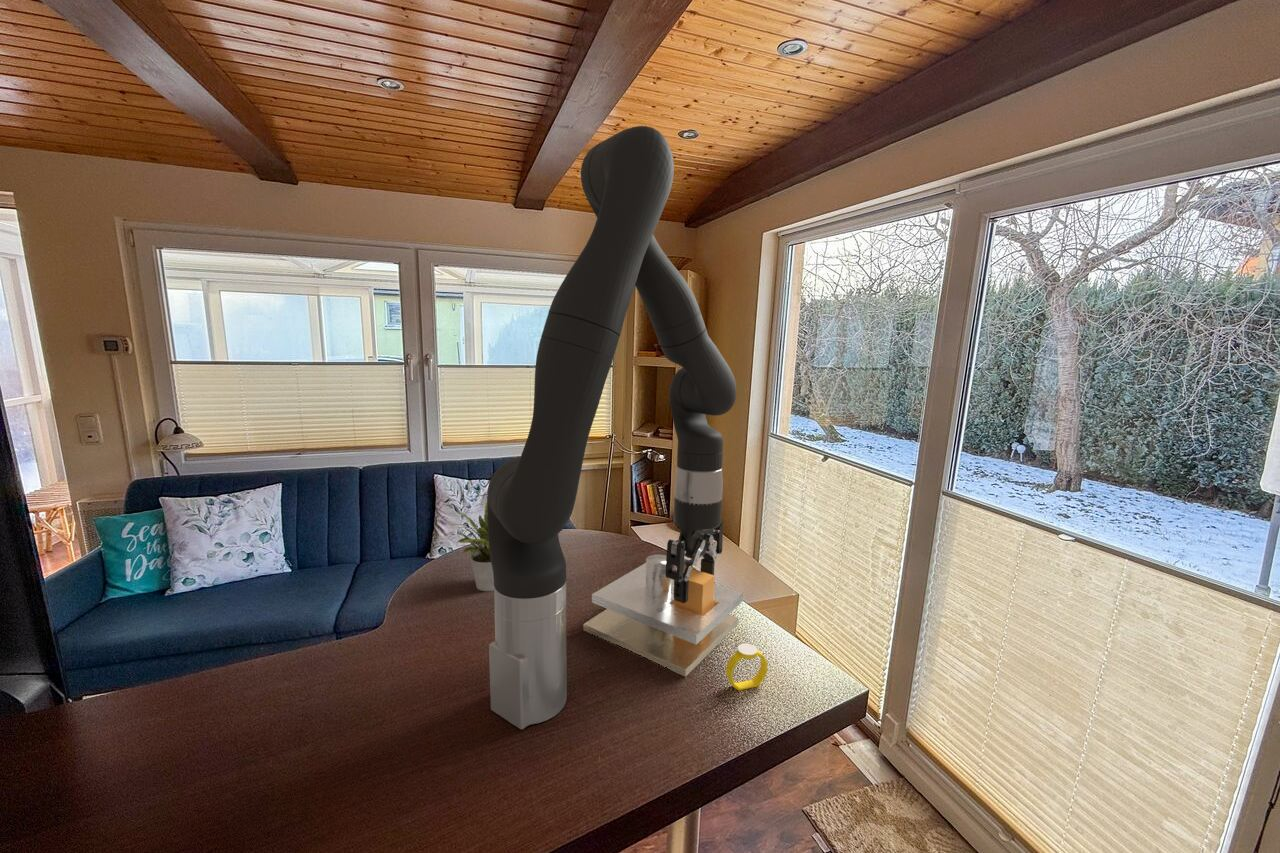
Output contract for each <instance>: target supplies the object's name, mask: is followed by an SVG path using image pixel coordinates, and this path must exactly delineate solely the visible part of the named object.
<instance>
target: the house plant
mask: <svg viewBox="0 0 1280 853" xmlns="http://www.w3.org/2000/svg"><path fill="white" fill-rule="evenodd" d="M455 513H456V514H459V515H461V516H462V517H465V519H467V521H468V522H469V523H470V524H471V526H472V527H470V526H468V525H466V524H463V523H462V524H461V523H454V524H452V526H458V527H457V529H458V528H459V529H461V528H463V529H465V530H467V531H468V532H469V533H470V534H471V536H472V537H473V538H470V537H468V536H467V535H466V534H464V533H461V532H458V534H459V535H460V536H463V538H461V539H459V540H458V541H457V542H456V544H458V543H459V544H460V545H459V547H461V546H462V547H463V546H466V548H464V550H462V554H465V553H467V552H469V551H470V552H469V556H468V558H469V559H470V563H471V568H472V572H473V577H474V582H475V587H476V589H477V590H479V591H482V592H494V577H493V569H492V564H491V560H490V553H489V535H488V516H487V501H485V502H484V514H483V516H484V518H483V517H482V515H480V514H479V516H478V524H479V527H478V526H477V525H476V524H475V521H473V519H472V518H470V517H469V516H468V515H467V514H465V513H462V512H458V511H455ZM459 526H461V527H459ZM462 526H465V527H462ZM473 528H474V529H473ZM470 529H471V530H472V531H473V532H474V533H476V535H478V537H479V538H477V536H476V535H475V534H474V533H473V532H472V531H471V530H470ZM462 543H463V544H462ZM466 543H470V545H472V546H470V545H469V546H468V544H467V545H466Z"/></svg>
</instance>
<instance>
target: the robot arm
mask: <svg viewBox="0 0 1280 853" xmlns="http://www.w3.org/2000/svg"><path fill="white" fill-rule="evenodd" d="M674 170H675V165H674V155H673V152H672V150H671V147H670V145H669V142H668V140H667V139H666V137H665V136H664V135H663V134H662V132H660V131H659V130H657V129H655V128H653V127H651V126H648V125H647V126H646V125H637V126H631V127H629V128H625V129H623V130H621V131H618V132H617V133H615V134H614V135H611V136H610V137H608V138H606V139H604V140H603V141H600V142H599V143H597V144H595V145H594V146H592V148H590V149H589V150H588V152H586V154H585V156H584V157H583V160H582V163H581V167H580V180H581V181H580V182H581V185H582V190H583V193H584V196H585V197H586V200H587V202H588V204H589V206H590V208H591V210H592V212H593V213H594V214H595V216H596V221H595V224H594V227H593V229H592V231H591V234H590V236H589V239H588V240H587V242H586V244H585V246H584V247H583V249H582V250H581V252H580V254H579V256H578V257H577V259H576V260H575V262H574V263H573V264H572V267H571V268H570V270H569V271H568V272H567V275H566V276H565V278H564V279H563V281H562V282H561V284H560V285H559V288H558V289H557V291H556V293H555V295H554V297H553V299H552V302H551V304H550V306H549V309H548V312H547V313H548V314H547V316H546V320H545V322H544V326H543V329H542V333H541V335H540V336H541V337H540V340H539V344H538V348H537V353H536V360H535V370H534V390H533V391H534V392H533V396H534V397H533V411H532V419H531V423H530V428H529V432H528V435H527V439H526V441H525V444H524V447H523V450H522V452H521V456H518V457H514V458H510V459H508V460H506V461H505V462H503V463H502V464H501V465H500V466H499V467H497V469H496V470H495V472H494V473H493V474H492V476H491V478H490V480H489V482H488V483H489V484H488V487H487V493H486V494H487V495H486V502H487V516H488V535H489V553H490V560H491V564H492V569H493V577H494V590H493V599H494V600H493V601H494V603H493V604H494V606H493V607H494V635H495V636H494V637H495V638H494V641H492V642H490V644H489V646H488V650H489V651H488V655H489V663H488V664H489V690H490V691H489V692H490V710H491V711H492V712H494V713H495V714H496V715H498V716H500V717H501V718H503V719H504V720H505V721H507V722H509V723H510V724H512V725H513V726H515V727H517V729H519V730H524V729H525V728H526V727H528V726H530V725H534V724H536V725H537V724H540V723H541V724H542V722H545V721H548V720H550V719H552V718H554V717H555V716H556V715H558V714H559V713H560V712H561V711H562V710H563V709H564V707H565V705H566V704H567V694H568V693H567V691H568V690H567V689H568V688H567V684H568V683H567V682H568V681H567V679H568V678H567V670H568V669H567V562H566V558H565V556H564V553H563V550H562V546H561V543H560V539H559V534H560V533H561V532H562V531H563V530H564V528H565V527H566V525H567V523H569V520H570V518H571V516H572V514H573V512H574V507H575V503H576V499H577V495H578V489H579V485H580V484H579V483H580V479H581V478H580V477H581V473H582V468H583V463H584V458H585V452H586V448H587V444H588V439H589V436H590V432H591V430H592V427H593V423H594V420H595V417H596V414H597V411H598V408H599V404H600V401H601V398H602V394H603V391H604V388H605V384H606V381H607V378H608V375H609V372H610V369H611V367H612V363H613V360H614V357H615V354H616V350H617V348H618V344H619V340H620V337H621V333H622V330H623V325H624V321H625V318H626V314H627V311H628V308H629V305H630V302H631V299H632V296H633V293H634V289H635V288H636V290H637V292H638V294H639V296H640V299H641V301H642V302H643V304H644V305H643V306H644V308H645V310H646V312H647V314H648V317H649V320H650V322H651V325H652V328H653V331H654V333H655V336H656V338H657V340H658V343H659V346H660V348H661V351H662V353H663V354H664V356H665V358H666V359H667V360H668V361H670V362H671V363H674V364H676V365H678V366H680V367H681V368H679V369H678V370H677V371H676V372H675V374H674V375H673V377H672V379H671V382H670V385H669V391H668V397H669V399H668V401H669V406H670V410H671V415H672V416H671V417H672V420H673V425H674V426H673V427H674V430H675V434H676V438H677V455H676V470H675V475H674V476H675V477H674V495H673V521H674V523H675V525H677V526H678V528H679V529H680V532H679V536H678V539H677V540H675V539H674V540H673V539H670V538H669V539H668V541H667V544H666V545H667V546H666V556H667V557H666V573H665V576H666V577H667V578H670V579H673V580H674V599H675V600H676V601H678V602H681V603H686V602H687V601H688V589H689V580H688V579H689V576H690V573H691V570H692V569H695V568H696V567H697V564H698V562H699V559H700V558H701V559H700V571H701V572H704V573H708V574H711V575H714V576H715V562H716V561H717V559H718V555H721V554H722V553H723V537H724V536H723V534H724V532H723V531H724V521H723V520H722V513H723V493H724V492H723V488H724V479H723V478H724V477H723V457H724V456H723V455H724V439H723V435H722V433H720V431H718V430H717V429H715V428H714V427H712V426H710V425H709V422H708V420H707V415H708V416H713V417H715V416H722V415H725V414H727V413H728V412H729V411H730V410H732V409H733V406H734V404H735V403H736V399H737V382H736V378H735V375H734V373H733V371H732V369H731V367H730V366H729V364H728V363H727V361H726V359H725V358H724V357H723V355H722V353H721V352H720V350H719V348H718V347H717V346H716V344H715V343H714V342H713V340H712V339H711V338H710V336H709V334H708V330H707V327H706V325H705V321H704V318H703V316H702V313H701V310H700V306H699V304H698V301H697V299H696V296H695V294H694V292H693V291H692V289H691V287H690V285H689V284H688V283H687V281H686V279H685V278H684V277H683V275H682V274H681V273H680V271H679V270H678V269H677V267H676V266H675V265H674V264H673V263H672V262H671V260H670V259H669V257H668V256H667V255H666V254H665V251H664V250H663V249H662V247H661V246H660V244H659V242H658V240H657V239H656V237H655V235H654V232H655V231H656V228H657V226H658V223H659V221H660V218H661V216H662V214H663V211H664V209H665V207H666V204H667V201H668V198H669V196H670V193H671V190H672V188H673V182H674V172H675V171H674ZM715 541H716V543H715ZM685 557H686V558H685ZM687 558H688V559H687ZM684 570H685V571H684ZM683 571H684V572H683Z"/></svg>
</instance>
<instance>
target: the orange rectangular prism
mask: <svg viewBox="0 0 1280 853" xmlns="http://www.w3.org/2000/svg"><path fill="white" fill-rule="evenodd" d="M684 571H685V569H684ZM684 571H683V572H684ZM715 578H716V577H715V574H714V575H711V574H708V573H704V572H701V570H697V569H695V568H693V569H692V570H691V573H690V576H689V579H688V580H689V589H688V601H687V602H686V603H681V602H678V601H676V600H675V604H674V606H677V607H679V608H682V609H685V610H688V611H690V612H693V613H696V614H698V615H701V616H704V615H705V614H707V613H708V612H709V611H710V610H711V609H712V608H713V599H714V584H715ZM711 633H712V630H711V631H710V632H709V633H708V634H707V635H706V636H705V637H704V638H703V639H702V640H701V641H700V642H699V643H700V644H701V643H702V642H703V641H704V640H705V639H706V638H707V637H708V636H709V635H710V634H711Z"/></svg>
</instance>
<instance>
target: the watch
mask: <svg viewBox="0 0 1280 853" xmlns="http://www.w3.org/2000/svg"><path fill="white" fill-rule="evenodd" d="M757 657H759V658H760V667H759V669H758V671H757V673H756V675H755V676H754V677H753V678H752V679H749V680H744V681H740V682H736V681H734V679H733V676H734V670H735V668H736V666H737V664H738V663H739V662H740V661H741V660H742V659H745V660H746V659H747V660H753V659H755V658H757ZM767 673H768V660H767V659H766V657H765V656H764V655H763V653H762V652H761V651H760V650H759V649H758V647H756V646H755V645H754V644H752V643H740V644H739V645H738V646H737V651H736V652H735V653H733V654H732V655H731V657H730V658H729V660H728V662H727V664H726V668H725V675H726V677H727V680H728V682H729V684H731V686H732V687H733V688H734V689H736V690H737V691H738V692H741V691H744V690H747V689H753V688H757V687H758V686H760V684H761V683H763V681H764V680H765V678H766V675H767Z"/></svg>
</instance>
